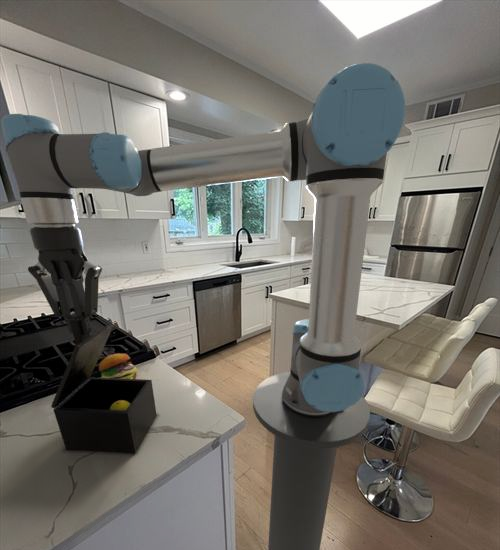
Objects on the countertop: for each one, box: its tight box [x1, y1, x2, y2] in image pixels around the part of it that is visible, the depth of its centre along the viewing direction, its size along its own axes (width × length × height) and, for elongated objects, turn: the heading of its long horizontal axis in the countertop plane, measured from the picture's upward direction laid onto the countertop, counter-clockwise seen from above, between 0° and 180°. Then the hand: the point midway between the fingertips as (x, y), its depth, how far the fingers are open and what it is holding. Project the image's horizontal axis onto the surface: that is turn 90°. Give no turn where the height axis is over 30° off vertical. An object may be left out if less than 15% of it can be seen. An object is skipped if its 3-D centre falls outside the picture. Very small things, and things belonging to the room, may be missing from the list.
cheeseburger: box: [98, 353, 138, 379], centre depth 86 cm, size 10×11×10 cm
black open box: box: [53, 376, 158, 454], centre depth 64 cm, size 16×13×11 cm
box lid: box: [50, 322, 115, 410], centre depth 59 cm, size 16×13×1 cm
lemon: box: [109, 400, 130, 411], centre depth 64 cm, size 6×6×8 cm
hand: (84, 347), depth 58 cm, fingers closed
